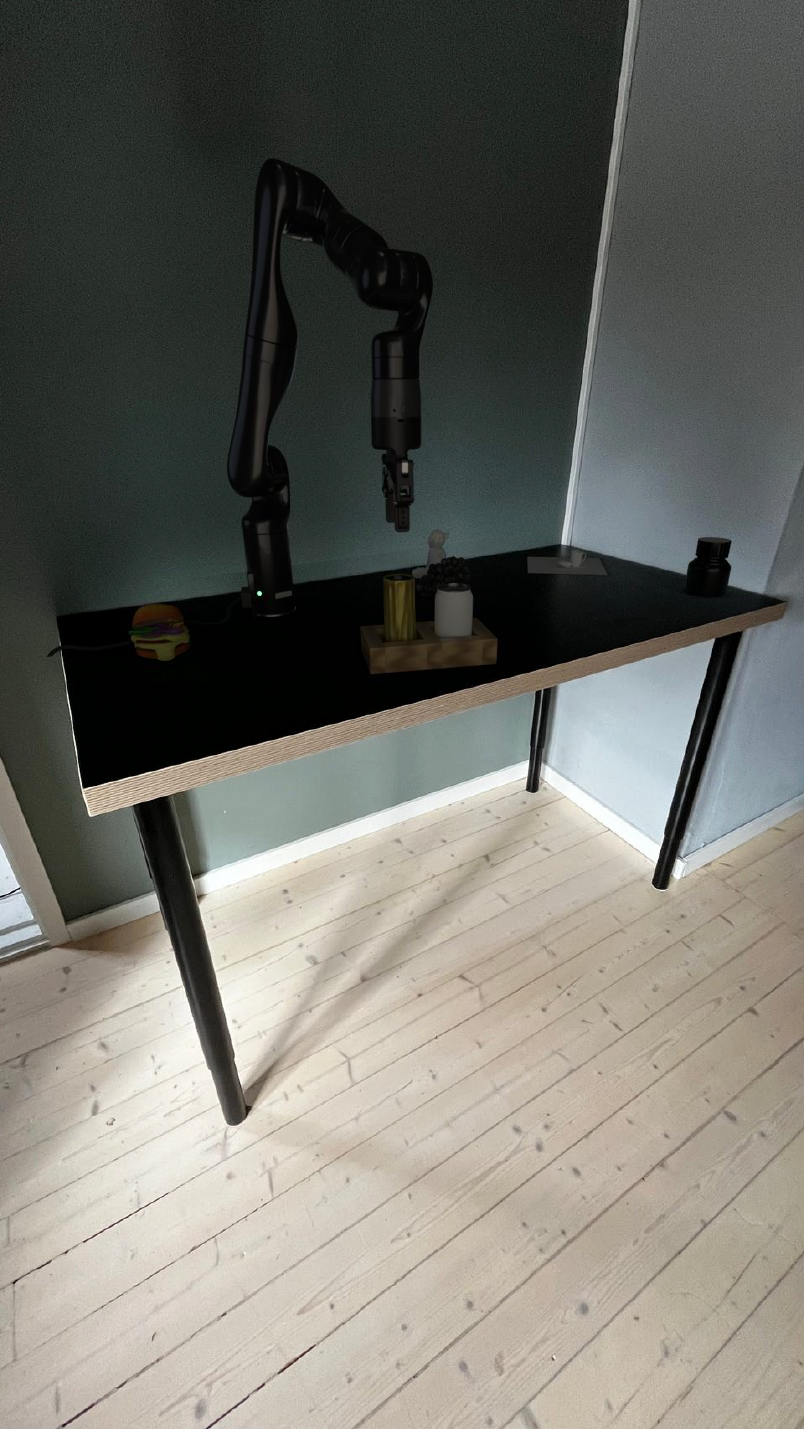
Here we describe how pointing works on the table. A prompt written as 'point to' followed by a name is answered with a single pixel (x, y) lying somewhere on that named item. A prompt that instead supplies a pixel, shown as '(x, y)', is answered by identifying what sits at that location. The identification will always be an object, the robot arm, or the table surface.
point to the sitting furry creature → (433, 552)
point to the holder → (427, 649)
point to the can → (453, 610)
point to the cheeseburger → (159, 632)
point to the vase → (399, 608)
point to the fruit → (443, 575)
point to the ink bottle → (709, 568)
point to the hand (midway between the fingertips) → (397, 527)
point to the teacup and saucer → (566, 565)
